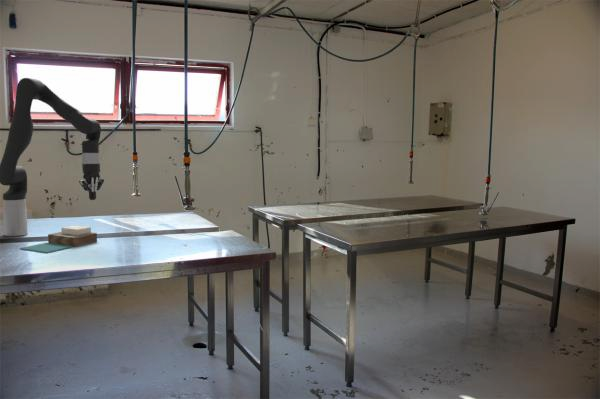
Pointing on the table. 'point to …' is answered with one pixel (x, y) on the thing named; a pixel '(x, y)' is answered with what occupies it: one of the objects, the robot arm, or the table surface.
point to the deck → (72, 239)
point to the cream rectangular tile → (76, 230)
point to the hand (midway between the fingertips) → (92, 199)
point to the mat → (46, 247)
